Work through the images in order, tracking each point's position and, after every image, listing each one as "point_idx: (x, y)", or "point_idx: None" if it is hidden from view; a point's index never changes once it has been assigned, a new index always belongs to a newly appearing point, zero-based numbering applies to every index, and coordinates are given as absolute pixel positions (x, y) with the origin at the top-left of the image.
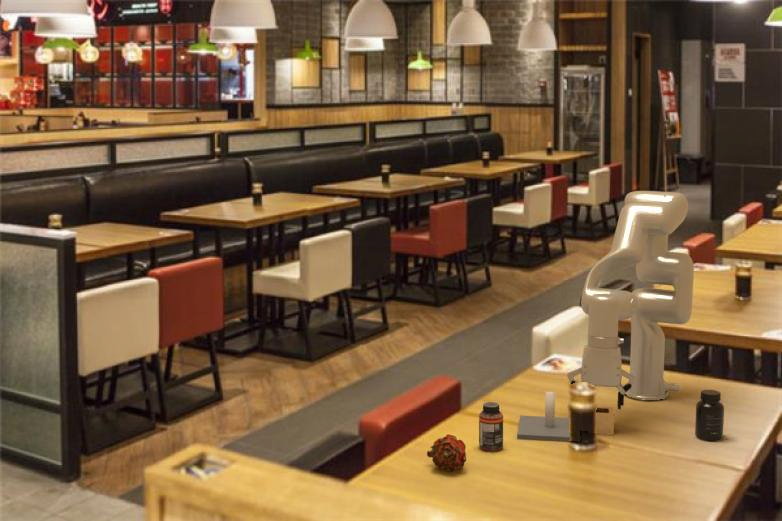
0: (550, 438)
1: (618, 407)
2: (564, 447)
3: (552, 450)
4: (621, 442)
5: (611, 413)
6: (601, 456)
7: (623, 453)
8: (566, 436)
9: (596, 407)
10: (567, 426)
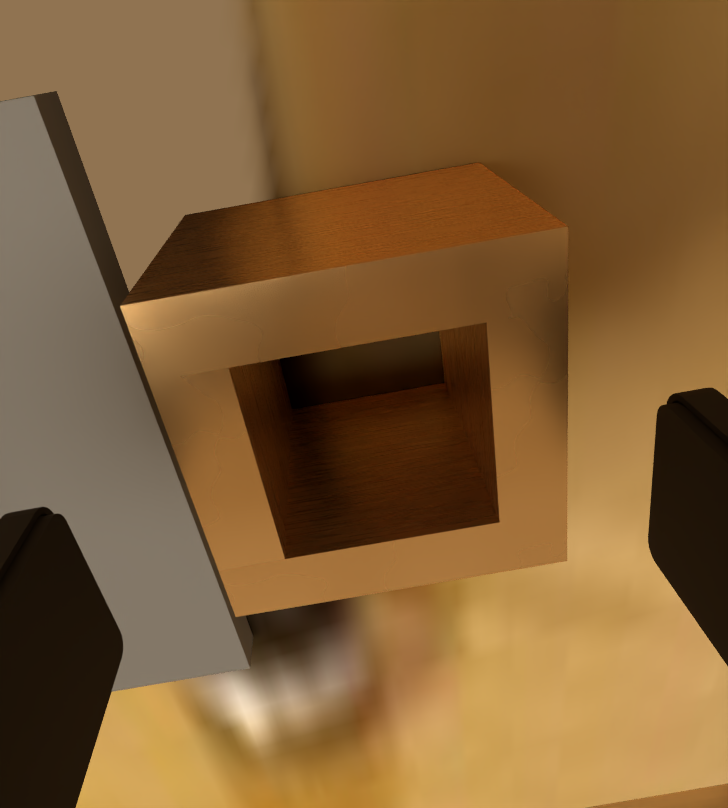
0: None
1: (667, 570)
2: (170, 737)
3: (117, 791)
4: None
5: (532, 528)
6: (428, 776)
7: (561, 707)
8: (128, 678)
9: (282, 331)
10: (23, 463)
